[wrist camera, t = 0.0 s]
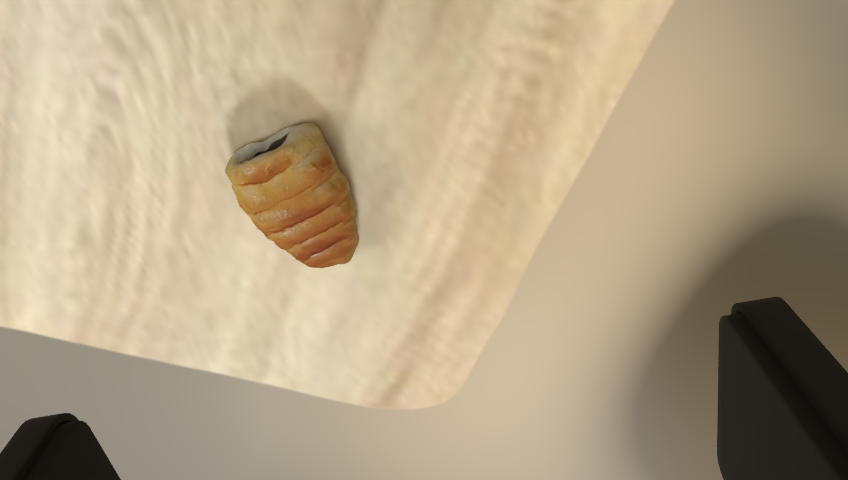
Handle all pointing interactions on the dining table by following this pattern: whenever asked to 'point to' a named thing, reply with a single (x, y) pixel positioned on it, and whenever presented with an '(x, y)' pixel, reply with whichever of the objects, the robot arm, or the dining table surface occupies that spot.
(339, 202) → the pastry
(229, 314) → the dining table surface
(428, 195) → the dining table surface
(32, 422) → the robot arm
